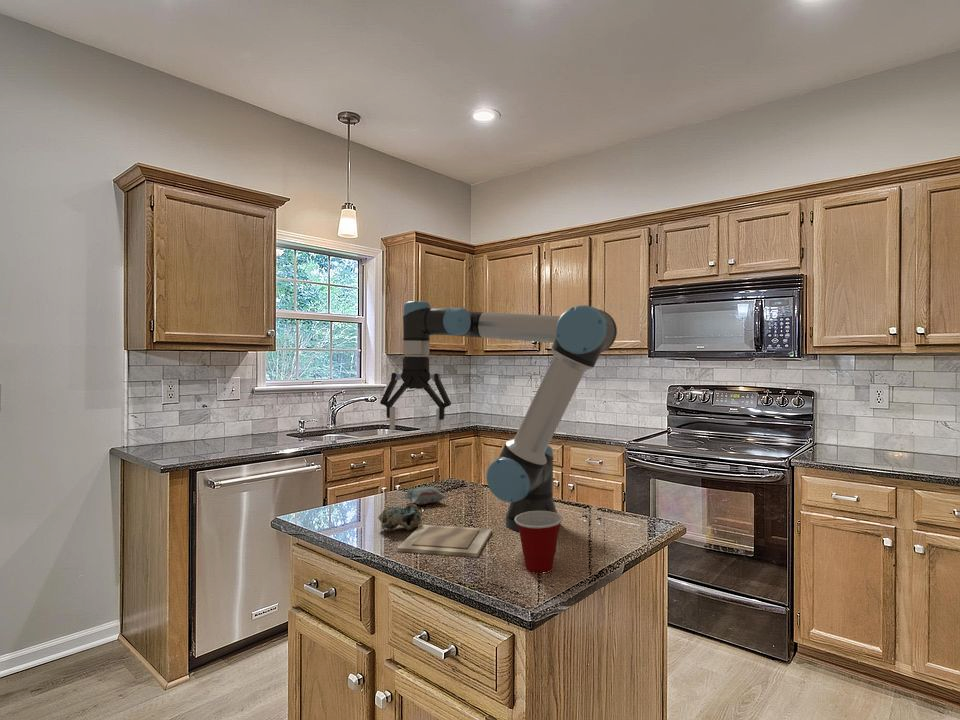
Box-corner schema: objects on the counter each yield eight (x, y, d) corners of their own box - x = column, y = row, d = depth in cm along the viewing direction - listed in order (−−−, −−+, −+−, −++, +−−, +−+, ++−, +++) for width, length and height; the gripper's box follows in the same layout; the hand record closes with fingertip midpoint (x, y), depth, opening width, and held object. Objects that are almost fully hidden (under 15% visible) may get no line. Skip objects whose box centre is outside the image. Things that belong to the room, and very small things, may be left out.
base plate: (491, 532, 157) (491, 527, 157) (477, 557, 137) (477, 552, 137) (421, 528, 161) (421, 523, 161) (397, 551, 141) (397, 546, 141)
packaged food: (447, 504, 186) (447, 488, 186) (412, 508, 180) (412, 492, 180) (437, 498, 193) (436, 483, 193) (403, 502, 188) (403, 487, 188)
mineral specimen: (384, 532, 152) (397, 504, 153) (371, 520, 159) (383, 492, 160) (422, 542, 159) (433, 514, 159) (407, 529, 166) (418, 503, 167)
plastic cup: (504, 569, 130) (504, 515, 130) (536, 558, 137) (536, 507, 137) (539, 583, 122) (539, 526, 122) (572, 570, 129) (572, 517, 129)
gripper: (461, 356, 166) (460, 430, 166) (378, 355, 170) (377, 427, 170) (456, 356, 158) (455, 433, 159) (369, 355, 163) (368, 430, 163)
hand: (415, 430), depth 164 cm, fingers open, 13 cm apart
